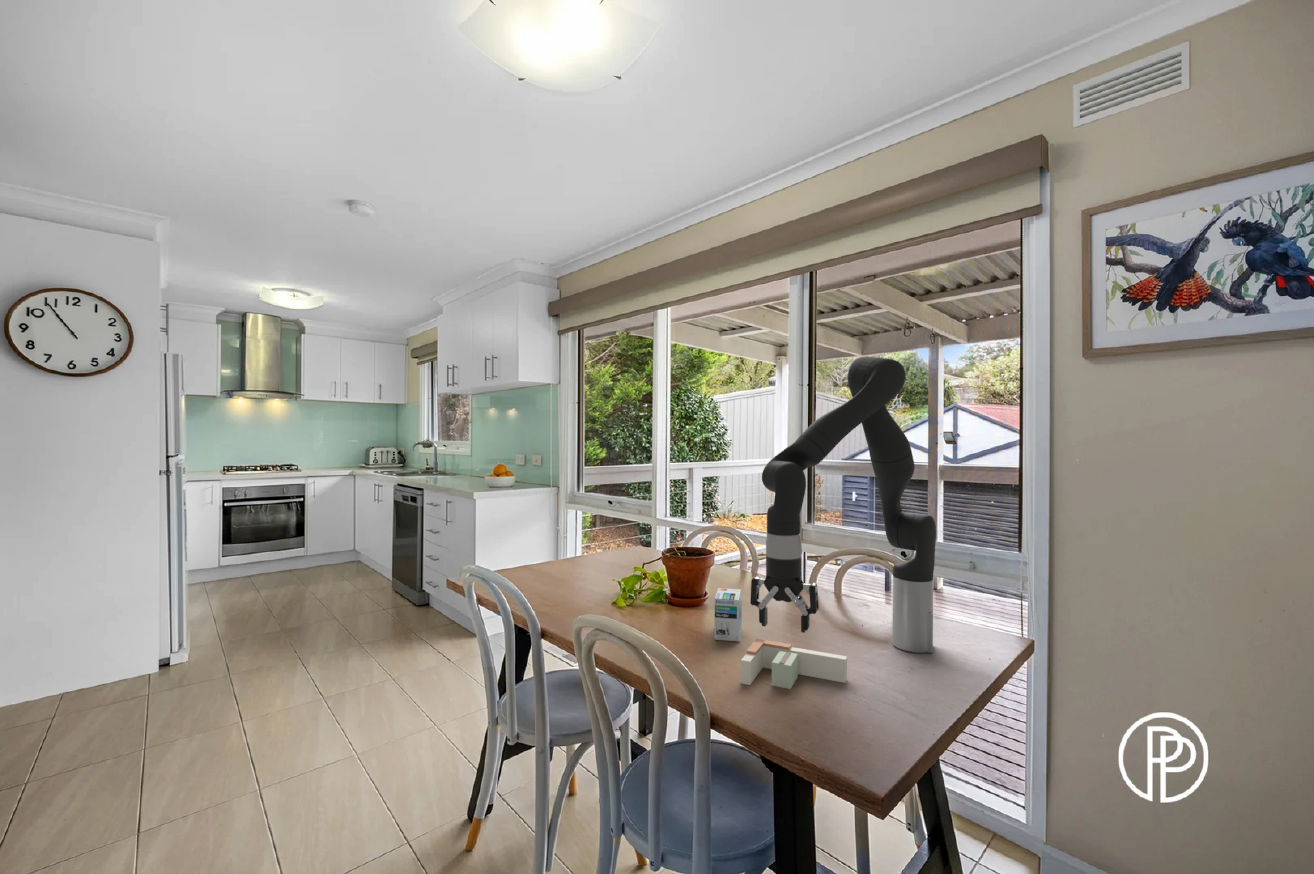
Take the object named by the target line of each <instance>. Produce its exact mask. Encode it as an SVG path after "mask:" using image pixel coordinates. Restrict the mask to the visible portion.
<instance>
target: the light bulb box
mask: <svg viewBox="0 0 1314 874" xmlns="http://www.w3.org/2000/svg"><path fill="white" fill-rule="evenodd" d="M714 596H715V597H714V598H713V599H714V601H713V602H714V640H717V641H730V642H740V641H741V637H742V633H743V589H739V588H737V589H735V588H723V587H718V588H717V591H716V594H715V595H714Z"/></svg>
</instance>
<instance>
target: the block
mask: <svg viewBox="0 0 1314 874" xmlns="http://www.w3.org/2000/svg"><path fill="white" fill-rule="evenodd" d="M798 676H799V674H798V654H795V653H791V652H784V651H779V653H778V654H777V656H776V657H775V658H774V660H773V661H772V669H771V686H773V687H777V688H783V689H787V690H791V689H792V687H793V686H794V684H795V683H796V681H797V679H798Z"/></svg>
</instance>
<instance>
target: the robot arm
mask: <svg viewBox="0 0 1314 874" xmlns="http://www.w3.org/2000/svg"><path fill="white" fill-rule="evenodd" d="M906 375H907V374H906V370H905V367H904V366H903V364H902V363H901V362H900V361H898V360H896V359H894V358H893V359H891V358H886V357H877V356H860V357H857V358H856V359H854V360H853V361H852V362H851V364H850V366H849V368H848V371H847V384H848V387H849V391H850V394H851V396H852V397H851V399H848V401H846V402H844V403H843V404H841V405H839V406H837V407H836V408H834V409H831V410H829V411H828V412H826V413H825V414H823V415H821V416H819V418H816V420H815V421H813V422H812V423H811V424H810V425H809V426H808V427H807V428H806V429H805V430H804V431H803V432H802V433H801V434H800V436H799V437H797V439H796V440H795V441H794V442H792V443H791V444H790V445H789V446H787V447H785V448H784V449H783V450H781V451H780V452H779V453H778V454H776V455H775V456H774V457H772V458H771V459H770V460H769V461H768V462H767V464H766V465H765V467H764V468H763V470H762V472H761V473H762V474H761V481H762V484H763V486H764V487H765V488H766V489H767V490H769V491H770V492H773V493H774V499H773V500H774V501H773V505H770V506H769V507H768V509H767V512H766V539H765V578H761V577H760V576H758V575H755V576H754V577H753V578H752V579H751V581H750V582H751V584H750V605H751V606H755V607H757V608H758V620H759V624H761V626H762V627H767V625H768V622H769V621H768V620H769V619H768V607H767V605H768V604H769V603H770V602H771V600H772V599H774V600H775V601H776V602H781V601H782V602H786V603H791V602H793V604H794V605H795V607H796V608H798V610H799V611H800V612H801V614H800V622H801V623H800V632H801V633H802V634H803V633H806V631H808V630H809V628H810V616H811V615H812V614H813V615H815V614H817V613H818V611H819V609H820V608H819V593H818V584H817V582H812V583H806V582H805V583H804V582H803V577H802V575H803V574H802V572H803V571H802V570H803V568H802V566H803V563H802V562H803V561H802V559H803V558H802V556H803V555H802V554H803V548H802V546H803V545H802V538H801V511H802V507H803V505H804V504H803V503H804V499H805V496H806V495H805V494H806V488H807V480H806V479H807V478H806V475H805V471H804V470H807V469H808V468H811V467H815V466H818V465H819V464H820V463H821V462H822V461H823V460H824V459H825V458H826V457H827V456H828V455H829V454H830V453H831V452H832V451H833V450H834V449H835V448H836V446H838V445H839V443H840V442H841V441H842V440H844V439H845V438H846V437H847V435H849V434H850V433H851V432H852V431H854V430H855V429H856V428H857V427H858V426H859V425H862V428H863V433H864V436H865V441H866V444H867V448H868V454H869V457H870V462H871V466H872V470H873V473H874V477H875V480H876V485H877V487H878V488H877V489H878V492H879V497H880V498H879V499H880V502H881V510H882V517H883V523H884V531H885V536H886V539H887V541H888V543H889V544H890V546H892V547H894V548H895V549H902V550H908V551H915V554H914V558H912V559H909V560H905V561H900V562H896V563H894V564H893V567H892V621H891V622H892V624H891V625H892V629H891V630H892V633H891V634H892V635H891V638H892V645H893V646H894V647H895V648H897V649H899V650H902V651H906V652H910V653H920V654H921V653H922V654H923V653H931V654H932V653H934V648H933V647H934V571H935V560H936V558H935V557H936V541H937V524H936V521H935V518H934V517H933V516H932V515H930V514H924V513H916V512H907V511H904V510H903V509H902V505H901V499H902V496H903V493H904V492H905V490H906V489H907V487H908V485H909V484H910V481H911V479H912V478H913V475H914V472H915V461H914V456H913V452H912V447H911V443H910V442H909V439H908V437H907V436H906V434H905V432H904V431H903V430H902V428H901V427H900V426H899V424H898V422H896V421H895V419H894V417H893V416H892V414H890V412H889V410H888V407H887V404H888V403H890V402H891V401H892V400H893V399H894V398H895V397H897V395H898V394H900V393H901V391H902V389H903V388H904V385H905V382H906ZM763 585H764V587H765V588H766V590H767V592H768V593H767V594H766V595H765V596H764V598H763V599H760V589H761V588H762V587H763ZM803 590H804V591H805V592H806V594H807V595H809V605H810V606H809V605H808V603H807V602H806V600H805V598H804V597H803V595H802V594H801V593H802V591H803Z"/></svg>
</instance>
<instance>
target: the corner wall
mask: <svg viewBox="0 0 1314 874" xmlns="http://www.w3.org/2000/svg"><path fill="white" fill-rule="evenodd" d="M779 651H784V652H791V653H795V654H798V675H801V676H807V677H812V678H815V679H817V678H818V679H822V680H827V681H831V682H832V681H833V682H837V683H838V682H839V683H845V684H846V683H847V680H848V656H846V655H841V654H835V653H829V652H822V651H818V650H813V649H805V648H800V647H793V646H792V643H785V642H780V641H773V640H767V639H763V638H762V639H761V638H755V640H754V641H753V643H751V645H749V647H748V648H747V649H746V653H745V655H744V656H743V657H742V658H741V660H740V684H743V685H748V686H751V685H752V683H753V682H754V681H755V679H756V677H757V676H758V675H759V674H760V672H761V671H762V670H763V669H769V670H772V661H773V660H774V658H775V657H776V656H777V654H778V653H779Z"/></svg>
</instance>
